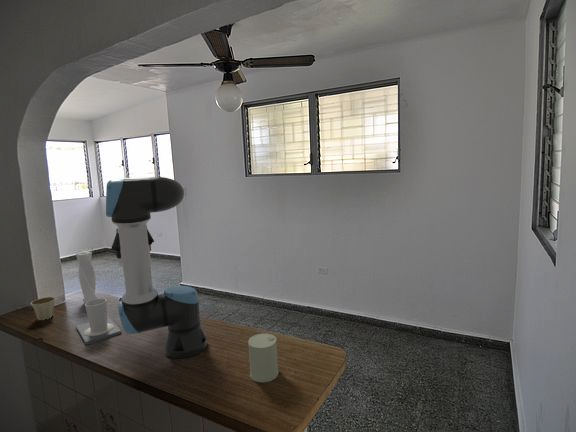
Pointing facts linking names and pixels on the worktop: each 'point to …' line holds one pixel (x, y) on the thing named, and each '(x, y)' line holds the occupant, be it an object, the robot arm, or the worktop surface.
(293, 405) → the worktop surface
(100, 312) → the cup
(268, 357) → the can
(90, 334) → the board
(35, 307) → the flower pot
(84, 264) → the skyscraper
